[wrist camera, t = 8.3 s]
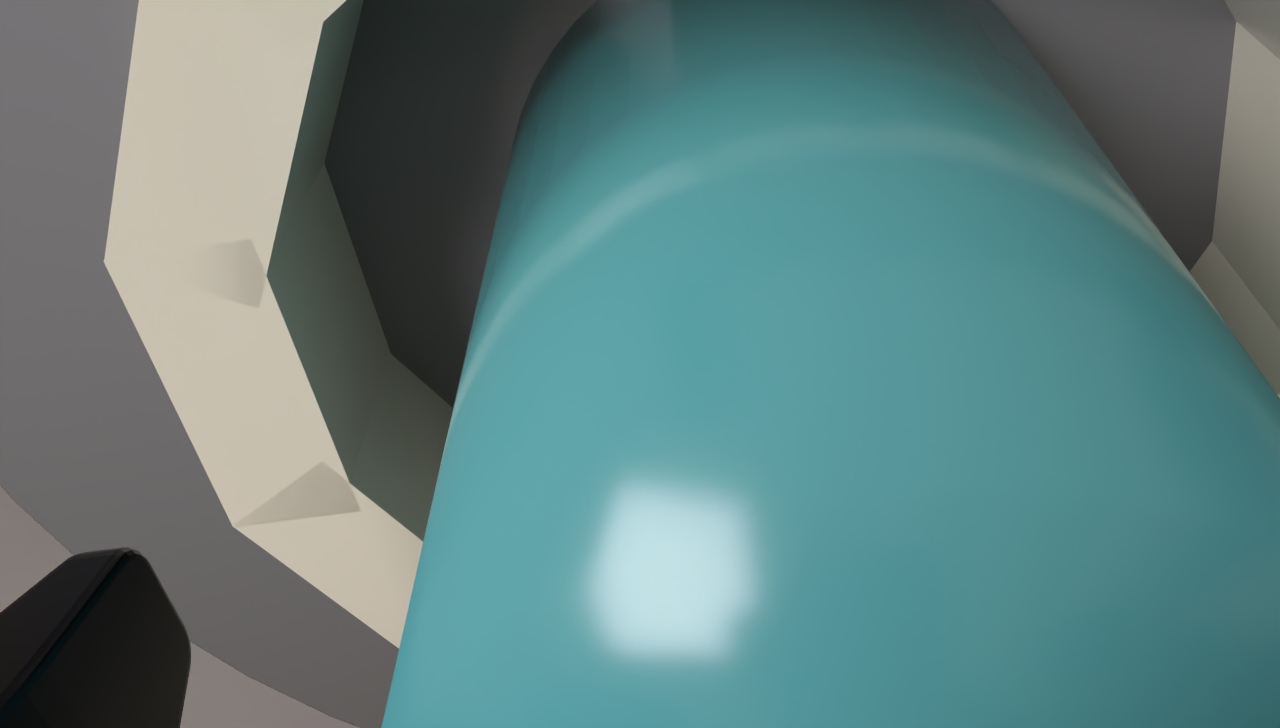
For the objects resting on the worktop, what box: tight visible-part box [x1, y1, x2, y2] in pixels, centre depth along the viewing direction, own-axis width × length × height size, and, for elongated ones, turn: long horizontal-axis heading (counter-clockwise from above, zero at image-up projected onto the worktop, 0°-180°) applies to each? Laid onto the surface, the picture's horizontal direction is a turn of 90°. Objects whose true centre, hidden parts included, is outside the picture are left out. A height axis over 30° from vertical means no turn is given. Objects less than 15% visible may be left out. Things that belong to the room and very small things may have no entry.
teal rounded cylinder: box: [381, 0, 1280, 728], centre depth 8 cm, size 5×5×7 cm
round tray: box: [0, 0, 1280, 728], centre depth 11 cm, size 18×18×3 cm
